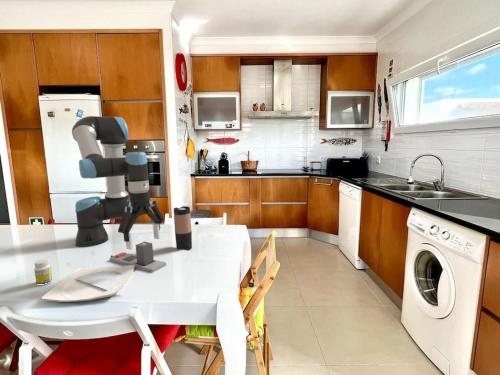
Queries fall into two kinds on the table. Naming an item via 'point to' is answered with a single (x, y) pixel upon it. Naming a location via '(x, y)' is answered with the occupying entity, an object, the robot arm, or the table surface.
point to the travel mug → (183, 228)
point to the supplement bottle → (42, 272)
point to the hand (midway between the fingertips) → (144, 243)
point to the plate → (85, 285)
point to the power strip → (132, 260)
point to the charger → (144, 253)
